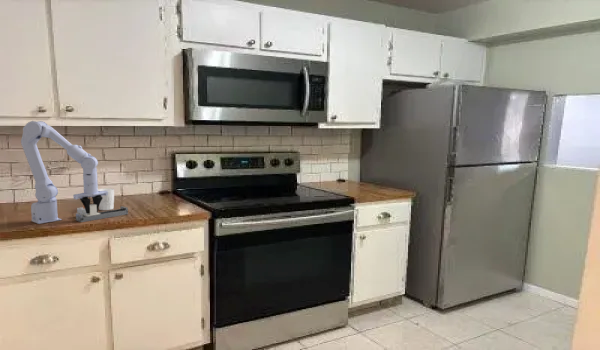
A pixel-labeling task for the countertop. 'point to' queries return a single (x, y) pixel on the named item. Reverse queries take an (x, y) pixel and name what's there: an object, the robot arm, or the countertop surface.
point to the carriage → (92, 210)
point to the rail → (103, 214)
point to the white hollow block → (81, 211)
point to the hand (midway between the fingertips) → (91, 212)
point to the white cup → (107, 200)
